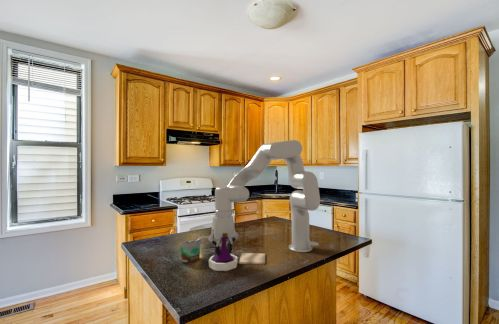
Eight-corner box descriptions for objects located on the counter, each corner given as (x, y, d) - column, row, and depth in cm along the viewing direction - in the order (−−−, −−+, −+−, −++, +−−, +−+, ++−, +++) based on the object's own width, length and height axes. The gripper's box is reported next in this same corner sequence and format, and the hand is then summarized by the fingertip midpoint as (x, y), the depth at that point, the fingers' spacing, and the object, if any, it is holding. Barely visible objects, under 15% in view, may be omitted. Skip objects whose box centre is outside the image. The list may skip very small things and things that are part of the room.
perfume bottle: (233, 266, 115) (233, 226, 115) (217, 269, 112) (217, 228, 113) (229, 260, 122) (229, 223, 122) (214, 263, 120) (213, 224, 120)
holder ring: (238, 260, 123) (238, 254, 123) (235, 271, 110) (235, 264, 111) (212, 259, 124) (212, 253, 124) (206, 270, 111) (206, 263, 111)
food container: (189, 266, 115) (189, 244, 115) (179, 263, 119) (179, 242, 119) (207, 258, 126) (207, 237, 126) (198, 255, 129) (198, 235, 129)
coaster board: (265, 255, 130) (265, 253, 130) (264, 264, 118) (264, 262, 118) (241, 254, 131) (241, 252, 131) (239, 263, 119) (239, 262, 119)
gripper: (236, 210, 125) (237, 248, 124) (202, 214, 117) (203, 254, 117) (243, 213, 118) (243, 252, 118) (208, 217, 110) (208, 259, 110)
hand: (223, 253), depth 117 cm, fingers closed on perfume bottle, 5 cm apart
